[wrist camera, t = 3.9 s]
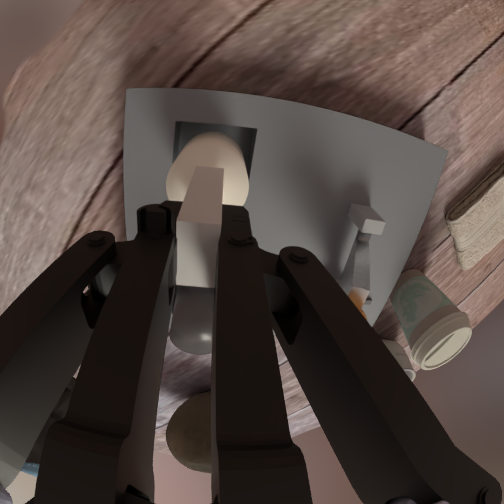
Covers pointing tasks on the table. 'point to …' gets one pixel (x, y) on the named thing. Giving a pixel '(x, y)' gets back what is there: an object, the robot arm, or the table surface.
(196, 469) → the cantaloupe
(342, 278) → the lever
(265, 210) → the panel
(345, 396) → the robot arm
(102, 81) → the table surface
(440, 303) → the coffee cup
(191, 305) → the dark gray button
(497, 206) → the washcloth
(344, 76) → the table surface
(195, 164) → the cream button
